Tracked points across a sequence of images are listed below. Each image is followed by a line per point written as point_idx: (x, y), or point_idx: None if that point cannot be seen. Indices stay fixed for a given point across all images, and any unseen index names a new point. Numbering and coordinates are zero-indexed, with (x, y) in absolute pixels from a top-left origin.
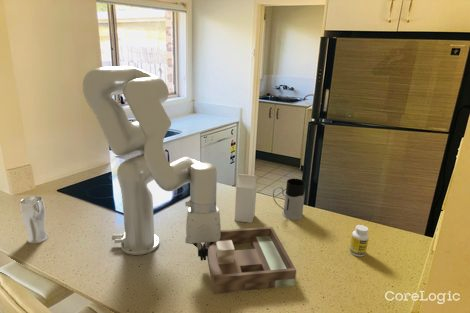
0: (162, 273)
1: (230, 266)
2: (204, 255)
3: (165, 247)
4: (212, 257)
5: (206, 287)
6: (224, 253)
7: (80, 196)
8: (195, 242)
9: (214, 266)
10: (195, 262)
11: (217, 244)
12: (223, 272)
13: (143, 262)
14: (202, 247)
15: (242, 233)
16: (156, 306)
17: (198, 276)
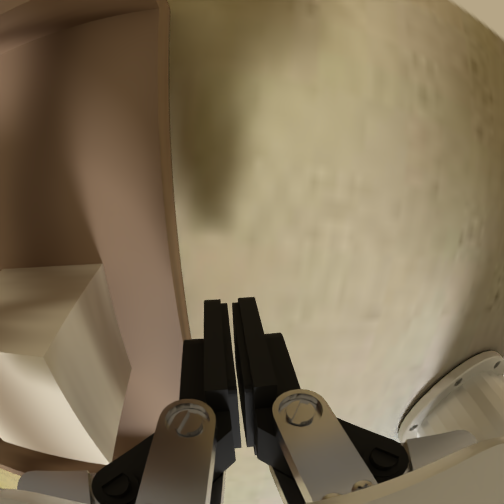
0: (450, 245)
1: (16, 233)
2: (221, 333)
3: (388, 408)
4: (153, 345)
5: (213, 70)
6: (10, 324)
7: None
8: (449, 474)
9: (129, 239)
10: (271, 330)
11: (85, 437)
12: (58, 157)
13: (481, 318)
14: (249, 420)
15: (28, 459)
16: (472, 24)
17: (263, 193)
